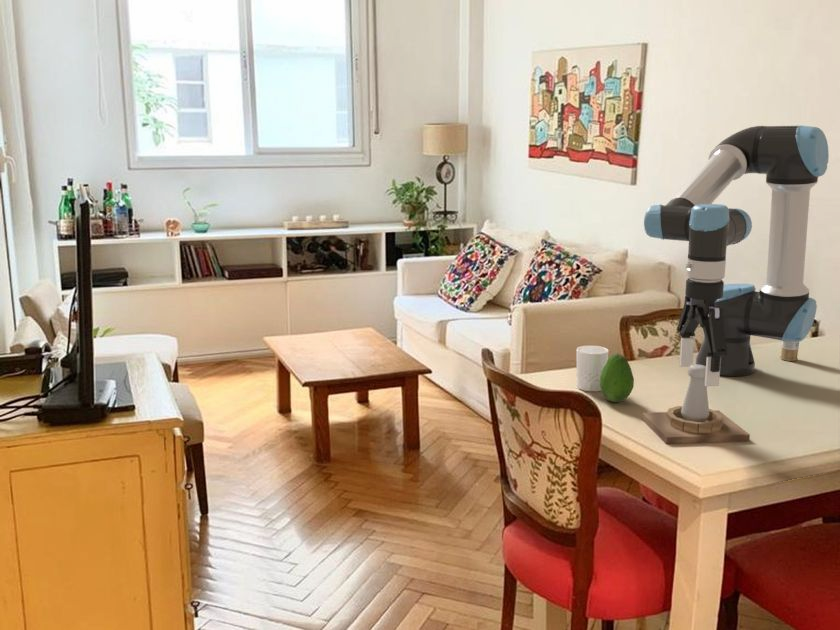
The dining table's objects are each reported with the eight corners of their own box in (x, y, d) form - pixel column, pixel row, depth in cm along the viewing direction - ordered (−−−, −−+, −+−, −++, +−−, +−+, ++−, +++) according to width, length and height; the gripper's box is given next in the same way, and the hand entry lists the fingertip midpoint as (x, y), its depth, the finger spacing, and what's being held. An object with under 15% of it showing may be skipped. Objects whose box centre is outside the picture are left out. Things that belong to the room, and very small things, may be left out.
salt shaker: (700, 417, 185) (705, 361, 182) (713, 427, 179) (718, 369, 176) (675, 418, 184) (680, 362, 181) (687, 428, 178) (693, 370, 175)
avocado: (604, 407, 196) (606, 358, 193) (594, 396, 204) (597, 349, 201) (637, 406, 197) (640, 357, 194) (626, 395, 204) (629, 348, 202)
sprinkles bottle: (787, 356, 238) (791, 310, 235) (801, 360, 234) (806, 313, 231) (776, 358, 236) (781, 312, 233) (790, 362, 232) (795, 315, 229)
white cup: (570, 389, 209) (572, 351, 207) (580, 381, 216) (581, 344, 214) (601, 394, 206) (603, 355, 203) (610, 385, 212) (612, 347, 210)
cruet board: (718, 416, 190) (719, 402, 189) (749, 441, 175) (750, 425, 174) (641, 419, 188) (642, 404, 188) (666, 444, 174) (667, 428, 173)
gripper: (665, 268, 186) (660, 359, 191) (713, 292, 162) (705, 395, 167) (698, 267, 187) (692, 358, 192) (750, 290, 162) (741, 393, 167)
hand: (698, 375), depth 179 cm, fingers open, 13 cm apart
